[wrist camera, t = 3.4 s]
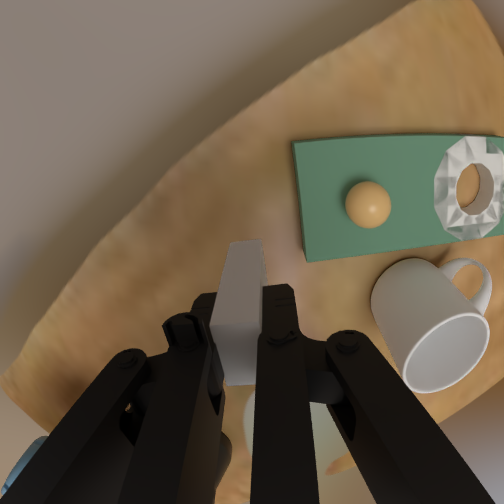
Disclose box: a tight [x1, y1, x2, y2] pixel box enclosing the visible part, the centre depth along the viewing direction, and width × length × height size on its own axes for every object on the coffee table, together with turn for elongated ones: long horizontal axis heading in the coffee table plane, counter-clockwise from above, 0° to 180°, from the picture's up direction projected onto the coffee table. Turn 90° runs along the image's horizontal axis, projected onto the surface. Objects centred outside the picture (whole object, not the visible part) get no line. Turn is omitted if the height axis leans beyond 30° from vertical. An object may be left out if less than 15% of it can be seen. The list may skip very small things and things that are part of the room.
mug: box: [371, 258, 492, 393], centre depth 25 cm, size 9×12×11 cm
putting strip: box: [291, 133, 504, 262], centre depth 25 cm, size 22×10×2 cm, turn 99°
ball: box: [345, 181, 391, 229], centre depth 23 cm, size 4×4×4 cm
